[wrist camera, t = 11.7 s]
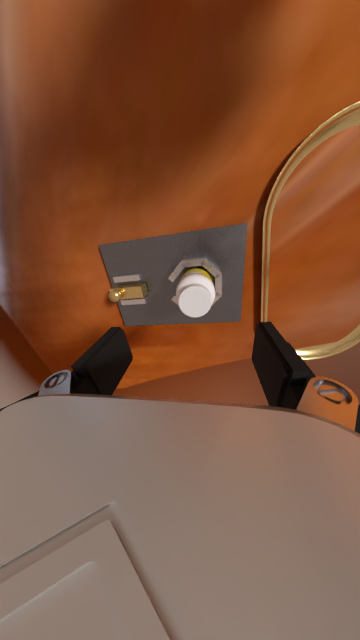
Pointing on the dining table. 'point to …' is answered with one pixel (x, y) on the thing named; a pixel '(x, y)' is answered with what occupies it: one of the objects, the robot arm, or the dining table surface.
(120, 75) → the dining table surface
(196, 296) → the supplement bottle
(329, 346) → the gold oval ring
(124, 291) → the bolt
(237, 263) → the dock
